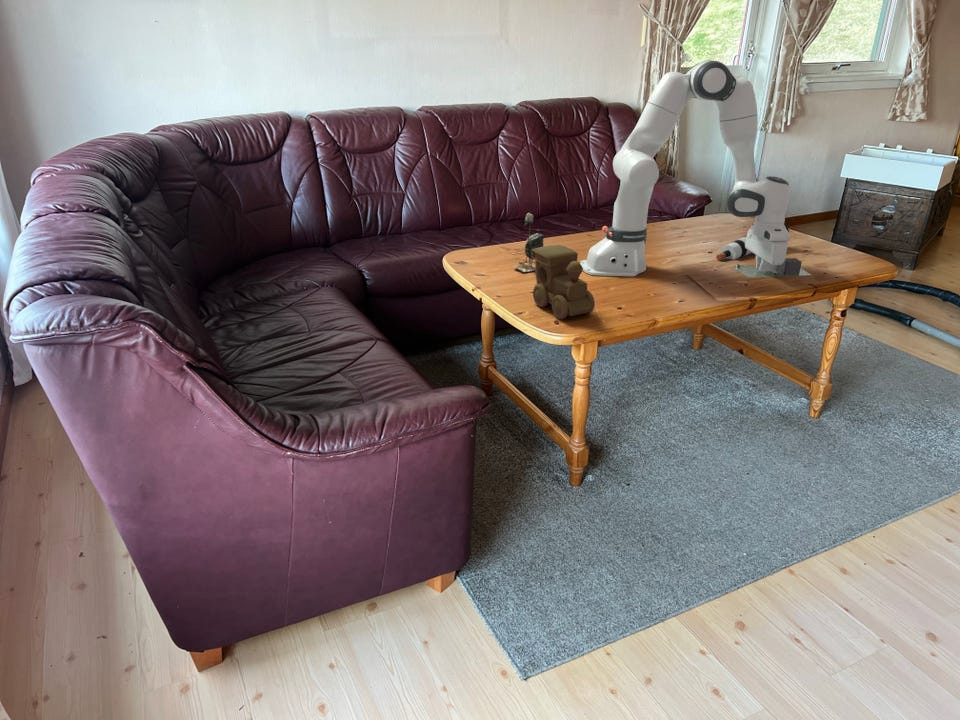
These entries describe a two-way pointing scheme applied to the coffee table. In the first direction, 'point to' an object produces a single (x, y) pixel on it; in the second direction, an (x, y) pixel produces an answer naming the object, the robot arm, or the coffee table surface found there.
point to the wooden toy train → (560, 282)
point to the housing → (754, 272)
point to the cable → (736, 249)
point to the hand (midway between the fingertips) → (760, 269)
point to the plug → (787, 266)
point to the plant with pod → (530, 247)
